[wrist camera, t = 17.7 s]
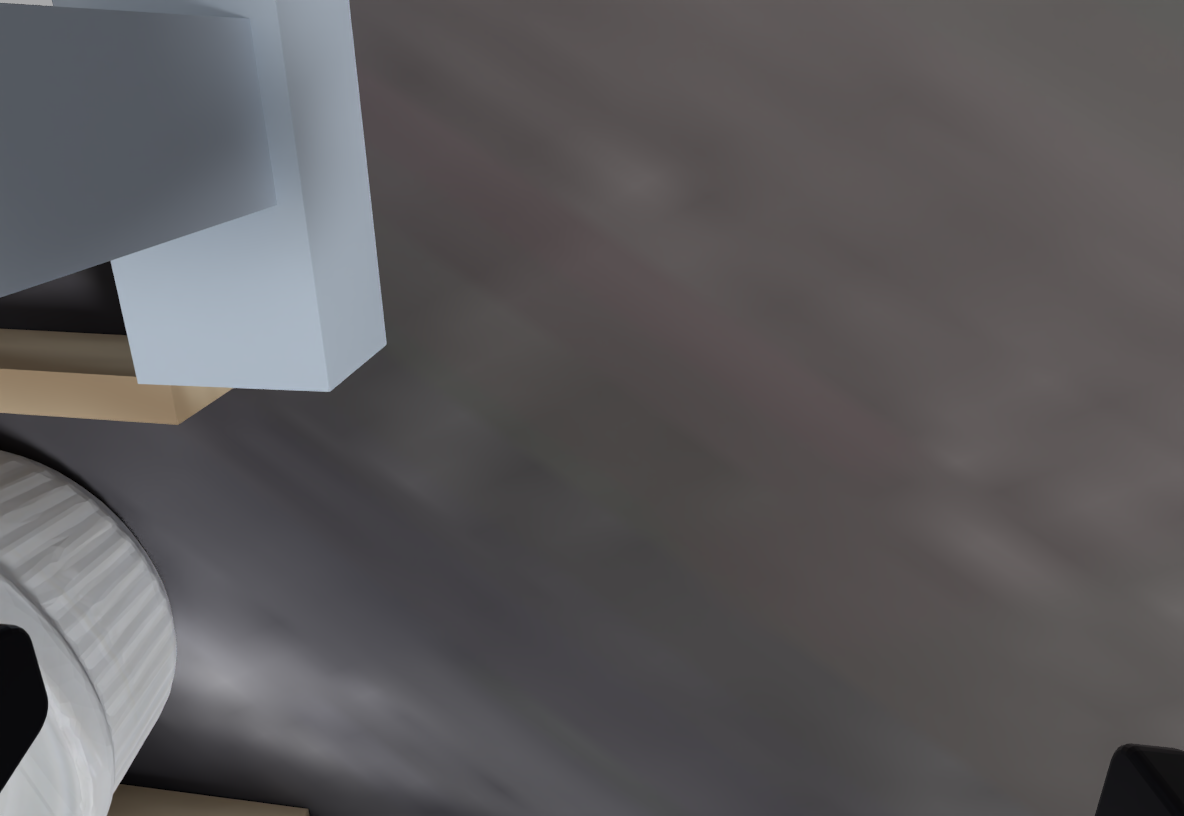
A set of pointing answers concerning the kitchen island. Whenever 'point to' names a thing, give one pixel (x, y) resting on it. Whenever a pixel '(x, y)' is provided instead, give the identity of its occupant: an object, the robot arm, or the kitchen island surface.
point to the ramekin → (80, 638)
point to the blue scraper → (196, 181)
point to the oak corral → (111, 392)
